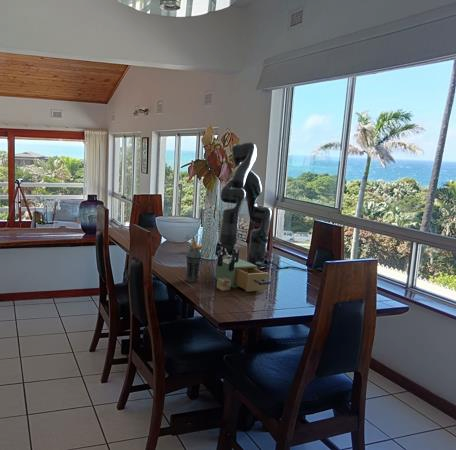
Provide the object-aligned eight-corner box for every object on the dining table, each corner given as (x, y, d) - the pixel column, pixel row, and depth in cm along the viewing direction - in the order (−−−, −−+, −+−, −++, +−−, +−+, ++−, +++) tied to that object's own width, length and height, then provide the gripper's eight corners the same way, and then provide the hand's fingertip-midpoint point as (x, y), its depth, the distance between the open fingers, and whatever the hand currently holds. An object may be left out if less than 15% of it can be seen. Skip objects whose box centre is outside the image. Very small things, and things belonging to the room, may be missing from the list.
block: (224, 287, 207) (225, 277, 207) (230, 289, 204) (231, 280, 203) (216, 287, 206) (217, 278, 205) (222, 290, 202) (223, 281, 201)
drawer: (274, 293, 201) (276, 276, 199) (253, 295, 195) (255, 277, 194) (248, 281, 217) (250, 265, 215) (228, 282, 212) (230, 266, 210)
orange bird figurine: (213, 256, 270) (215, 237, 268) (183, 253, 271) (184, 234, 269) (213, 253, 276) (215, 235, 275) (183, 250, 278) (185, 232, 276)
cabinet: (254, 285, 213) (257, 265, 212) (232, 287, 208) (235, 267, 206) (236, 277, 226) (238, 258, 225) (214, 278, 221) (216, 259, 219)
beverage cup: (202, 281, 214) (206, 239, 210) (193, 284, 208) (197, 241, 205) (190, 277, 218) (194, 236, 215) (180, 280, 213) (184, 238, 210)
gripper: (245, 235, 196) (241, 272, 198) (226, 229, 208) (223, 264, 211) (231, 235, 193) (227, 273, 195) (212, 229, 205) (209, 264, 208)
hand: (225, 268), depth 203 cm, fingers open, 8 cm apart
